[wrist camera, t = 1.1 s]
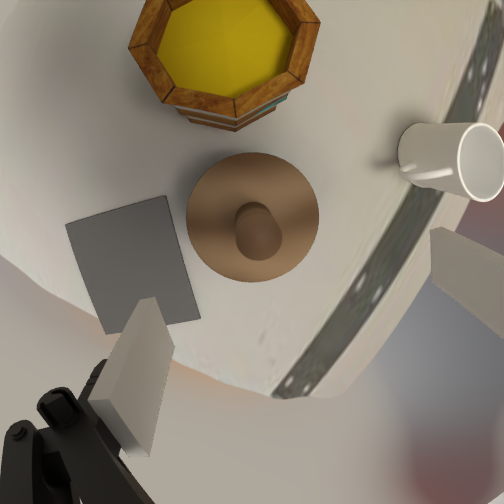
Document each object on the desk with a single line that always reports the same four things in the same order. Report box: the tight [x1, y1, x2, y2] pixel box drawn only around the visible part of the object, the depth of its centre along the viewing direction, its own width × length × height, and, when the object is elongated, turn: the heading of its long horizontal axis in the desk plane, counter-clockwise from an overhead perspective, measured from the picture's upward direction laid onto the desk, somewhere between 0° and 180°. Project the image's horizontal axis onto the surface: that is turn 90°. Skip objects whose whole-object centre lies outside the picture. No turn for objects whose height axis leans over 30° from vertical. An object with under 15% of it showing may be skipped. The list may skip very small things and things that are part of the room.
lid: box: [186, 153, 319, 282], centre depth 25 cm, size 12×12×7 cm
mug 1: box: [128, 0, 321, 132], centre depth 24 cm, size 20×14×15 cm
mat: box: [65, 196, 201, 335], centre depth 38 cm, size 16×14×1 cm
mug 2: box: [398, 123, 504, 202], centre depth 30 cm, size 12×8×12 cm
